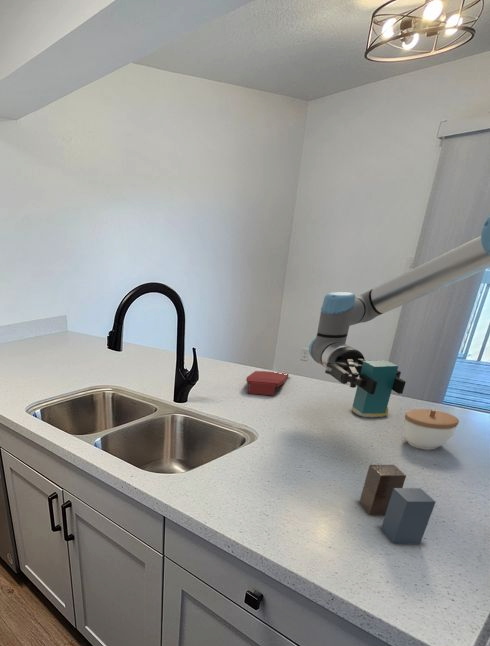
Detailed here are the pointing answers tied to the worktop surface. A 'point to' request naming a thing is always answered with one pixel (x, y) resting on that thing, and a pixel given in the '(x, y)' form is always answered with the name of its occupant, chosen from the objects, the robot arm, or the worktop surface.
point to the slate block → (407, 515)
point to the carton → (265, 382)
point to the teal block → (385, 379)
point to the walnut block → (380, 487)
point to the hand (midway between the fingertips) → (387, 387)
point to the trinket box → (428, 428)
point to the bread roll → (370, 414)
